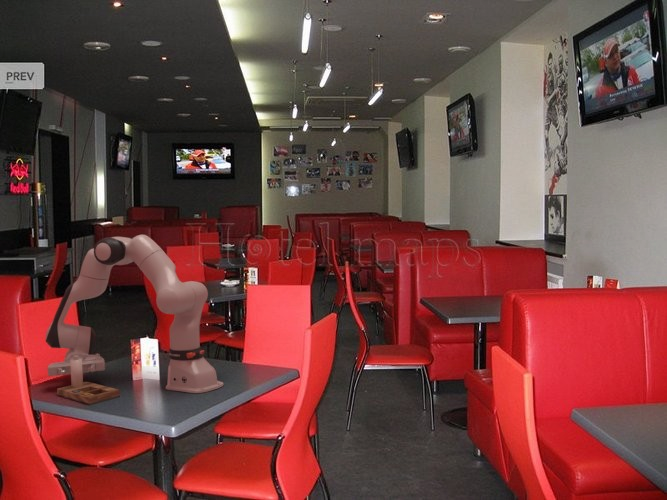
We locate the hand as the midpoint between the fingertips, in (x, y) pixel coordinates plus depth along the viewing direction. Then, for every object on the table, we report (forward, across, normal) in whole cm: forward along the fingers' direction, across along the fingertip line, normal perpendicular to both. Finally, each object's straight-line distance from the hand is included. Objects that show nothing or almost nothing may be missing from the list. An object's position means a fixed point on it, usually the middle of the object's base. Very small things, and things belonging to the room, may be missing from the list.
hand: (76, 371), depth 246 cm
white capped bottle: (0, 0, +5) cm, 5 cm away
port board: (+6, +3, +8) cm, 11 cm away
